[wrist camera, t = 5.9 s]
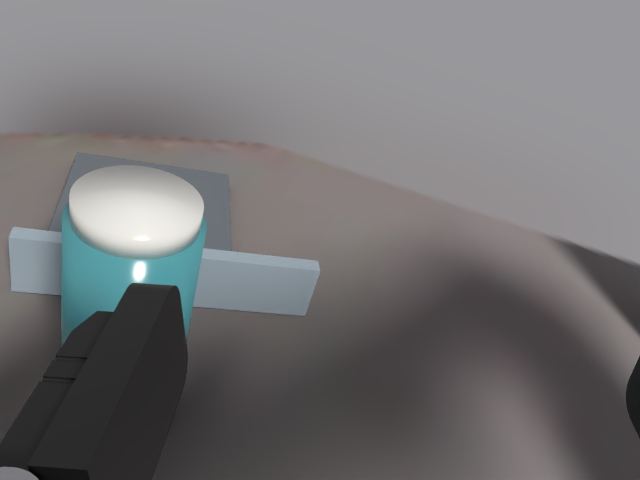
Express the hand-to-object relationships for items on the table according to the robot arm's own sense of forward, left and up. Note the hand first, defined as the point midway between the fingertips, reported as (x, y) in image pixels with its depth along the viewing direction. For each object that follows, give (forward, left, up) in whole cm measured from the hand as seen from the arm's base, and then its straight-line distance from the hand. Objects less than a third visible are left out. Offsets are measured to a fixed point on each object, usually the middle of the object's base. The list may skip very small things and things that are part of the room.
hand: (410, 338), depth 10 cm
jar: (+5, -13, -20) cm, 24 cm away
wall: (+3, -22, -20) cm, 29 cm away
